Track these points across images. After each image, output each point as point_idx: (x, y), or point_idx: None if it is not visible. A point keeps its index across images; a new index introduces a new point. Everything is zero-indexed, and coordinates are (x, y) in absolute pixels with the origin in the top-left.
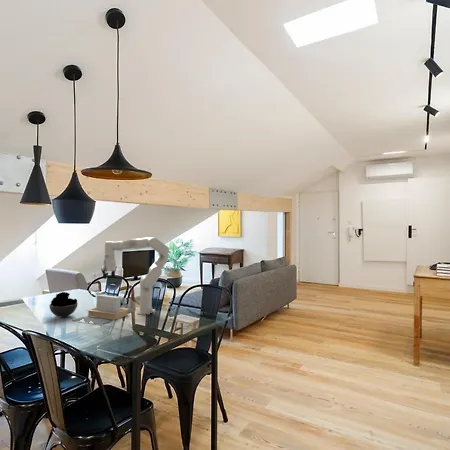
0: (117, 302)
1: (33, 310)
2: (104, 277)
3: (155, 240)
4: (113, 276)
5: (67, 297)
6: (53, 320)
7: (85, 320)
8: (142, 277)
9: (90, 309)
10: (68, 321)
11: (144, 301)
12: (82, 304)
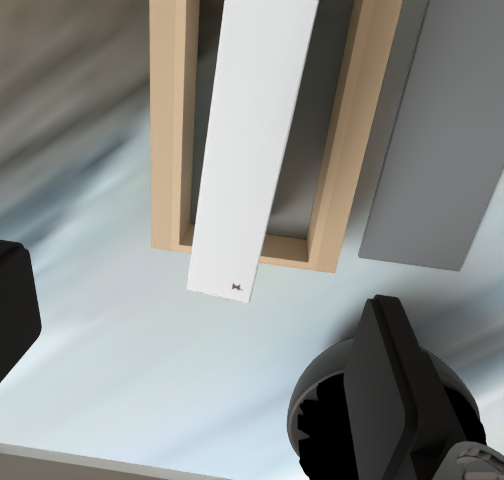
0: None
1: None
2: (425, 357)
3: None
4: (18, 275)
5: (343, 468)
6: (455, 364)
7: (458, 186)
8: None
9: (302, 261)
10: (470, 282)
11: None
12: (81, 412)
